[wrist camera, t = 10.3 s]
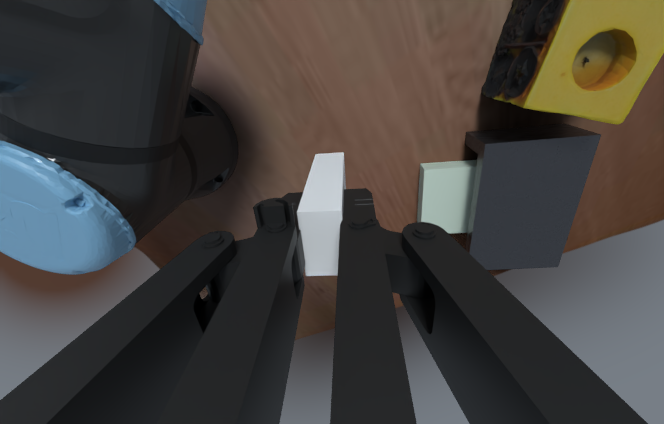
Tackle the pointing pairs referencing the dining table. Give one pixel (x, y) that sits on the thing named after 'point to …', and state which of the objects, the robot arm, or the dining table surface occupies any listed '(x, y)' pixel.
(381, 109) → the dining table surface
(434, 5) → the dining table surface
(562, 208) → the riser
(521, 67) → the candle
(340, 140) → the dining table surface
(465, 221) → the mint green panel
